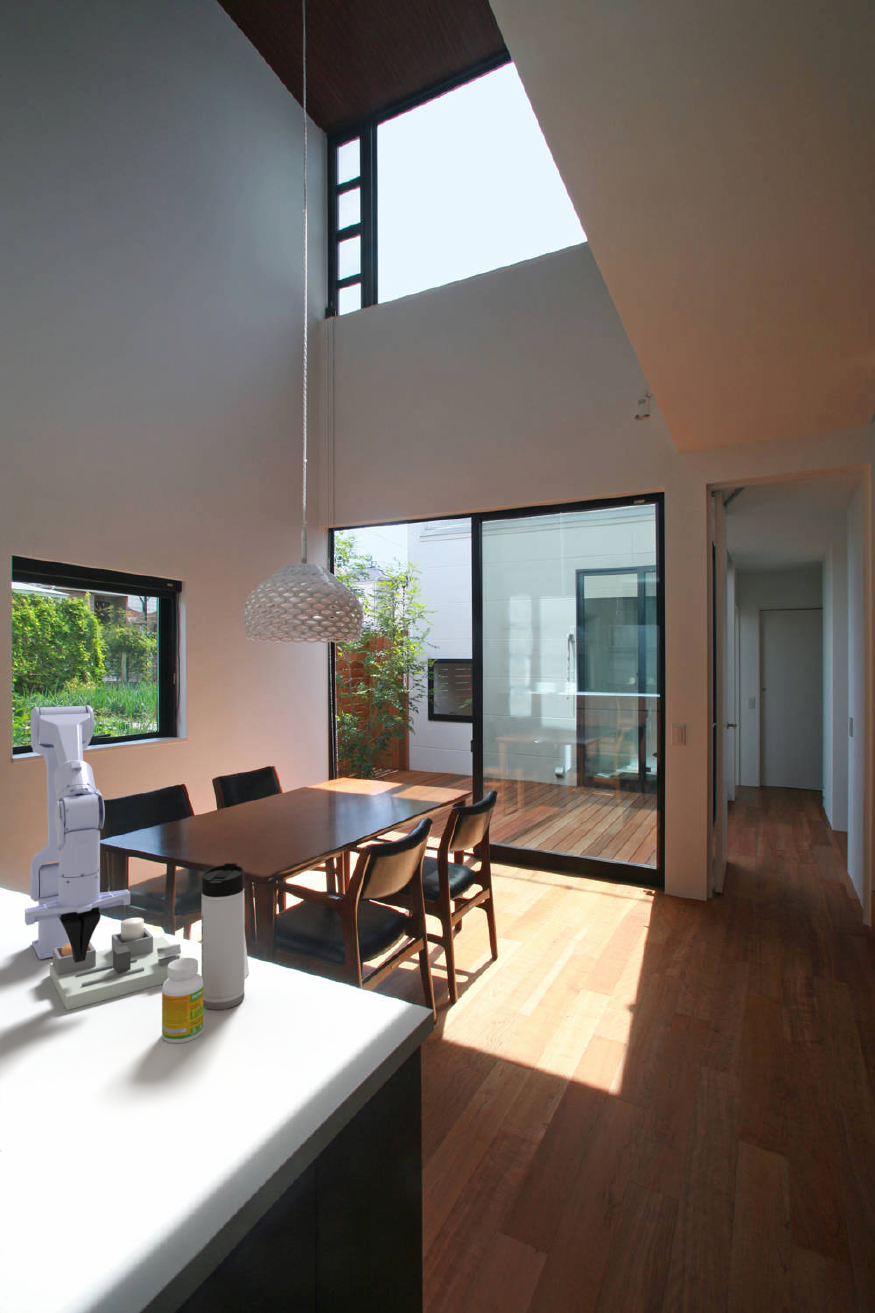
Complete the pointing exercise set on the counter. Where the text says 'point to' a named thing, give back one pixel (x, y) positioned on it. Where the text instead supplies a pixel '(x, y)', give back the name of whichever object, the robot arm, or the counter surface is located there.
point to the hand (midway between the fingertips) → (79, 959)
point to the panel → (109, 971)
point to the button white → (132, 929)
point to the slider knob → (121, 959)
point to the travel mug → (223, 936)
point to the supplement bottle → (182, 1002)
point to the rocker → (169, 950)
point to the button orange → (67, 950)
